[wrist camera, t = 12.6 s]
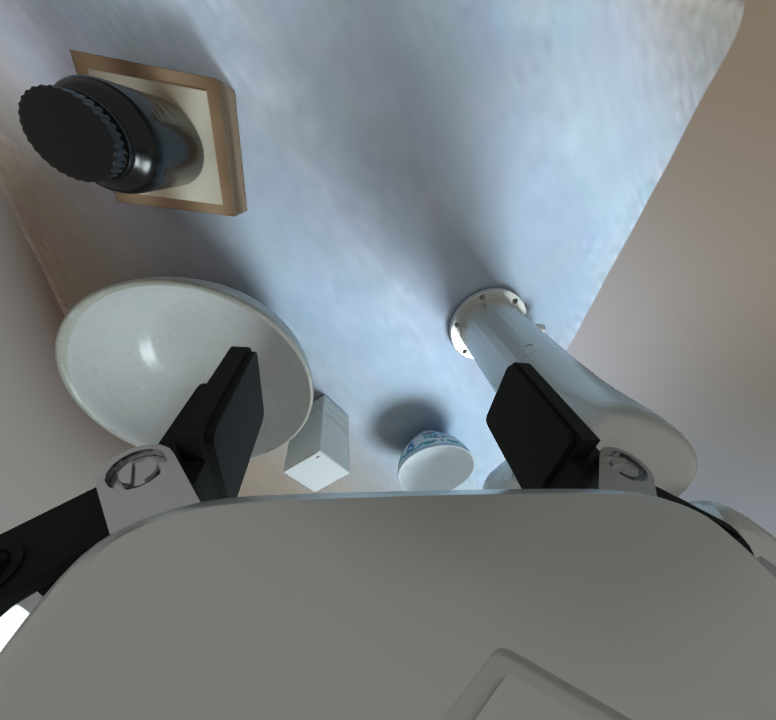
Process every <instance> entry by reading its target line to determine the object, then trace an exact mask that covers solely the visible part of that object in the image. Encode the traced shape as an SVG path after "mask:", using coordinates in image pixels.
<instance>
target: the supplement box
mask: <svg viewBox="0 0 776 720" xmlns="http://www.w3.org/2000/svg"><path fill="white" fill-rule="evenodd" d="M284 473H285V474H287V475H289V476H290V477H292V478H294V479H295V480H297V481H298V482H300V483H302V484H303V485H305V486H306V487H308V488H310V489H311V490H313V491H314V492H316V491H318V490H320V489H321V488H323V487H325V486H327V485H329V484H331V483H332V482H334V481H336V480H338V479H340V478H341V477H343V476H345V475H347V474H349V473H350V460H349V416H348V415H347V414H345V413H344V412H343V411H342V410H341V409H340V408H339V407H338V406H336V405H335V404H334V403H333V402H332V401H331V400H330V399H329V398H328V397H326V396H325V395H323V396H321V397H320V398H318V399H317V400H315V401H313V404H312V408H311V412H310V414H309V417H308V419H307V421H306V423H305V424H304V426H303V427H302V429H301V430H300V431H299V432H298V433H297V434H296V435H295V437H293V438H292V439H291V440H290V441H289V445H288V451H287V456H286V461H285V467H284Z"/></svg>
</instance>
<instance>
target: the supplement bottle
mask: <svg viewBox="0 0 776 720" xmlns="http://www.w3.org/2000/svg"><path fill="white" fill-rule="evenodd" d="M18 104H19V110H18V114H19V116H20V123H21V125H22V127H23V128H22V129H23V132H24V133H25V135H26V136H27V139H28V141H29V142H30V143H31V144H32V146H33V148H34V149H35V151H37V152H38V153H39V154H40V156H41V157H42V158H43V159H44V160H46V161H47V162H48V163H49V164H50V165H51V166H52V167H54V168H56V169H57V170H58V171H59V172H61V173H64V174H66V175H67V176H68V177H73V178H75V179H76V180H83V181H85V182H95V183H97V184H98V185H100V186H102V187H104V188H107V189H109V190H112V191H115V192H119V193H124V194H140V193H146V192H152V191H157V190H163V189H168V188H174V187H179V186H184V185H187V184H189V183H191V182H193V181H194V180H195V179H196V178H197V177H198V176H199V175H200V173H201V171H202V168H203V164H204V150H203V145H202V142H201V139H200V136H199V134H198V132H197V130H196V129H195V127H194V125H193V124H192V123H191V121H190V120H189V119H188V117H187V116H186V115H185V114H184V113H183V112H182V111H181V110H180V109H178V108H177V107H176V106H175V105H173V104H172V103H170V102H168V101H166V100H164V99H162V98H160V97H157V96H155V95H152V94H148V93H145V92H142V91H139V90H136V89H133V88H130V87H126V86H123V85H120V84H117V83H114V82H111V81H108V80H104V79H101V78H98V77H93V76H89V75H70V76H67V77H64V78H62V79H60V80H59V81H57V82H56V83H55V84H54V85H47V86H46V85H39V86H37V87H35V86H32V87H31V88H30V90H25V94H24V95H22V96H21V101H20V102H19V103H18Z"/></svg>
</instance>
